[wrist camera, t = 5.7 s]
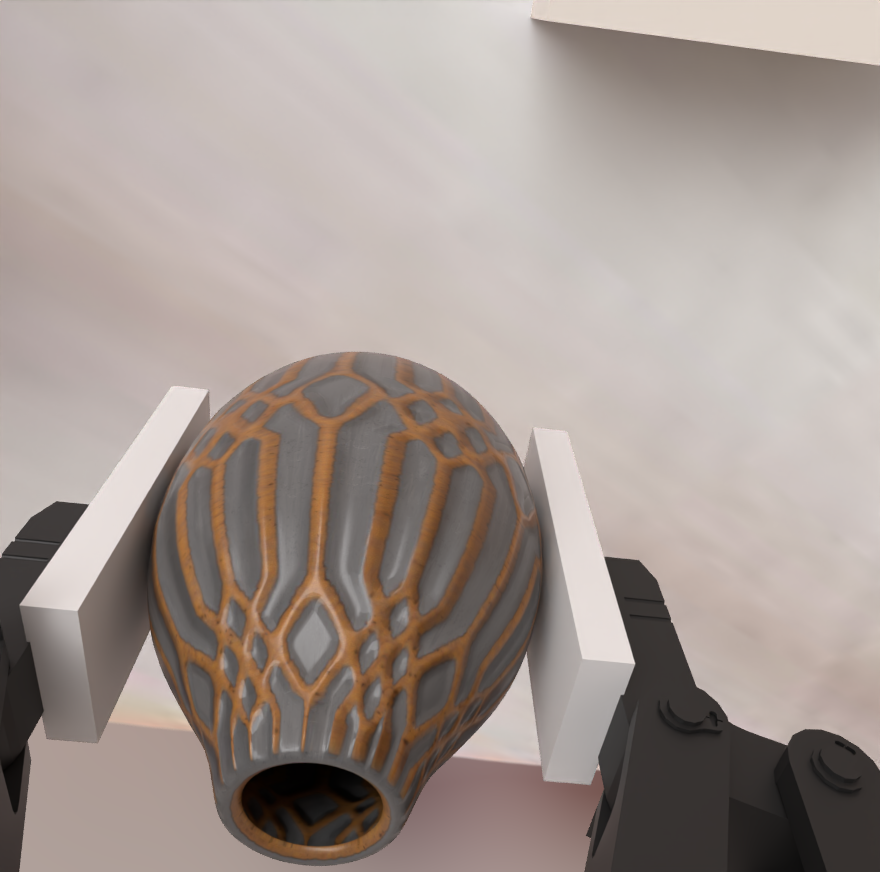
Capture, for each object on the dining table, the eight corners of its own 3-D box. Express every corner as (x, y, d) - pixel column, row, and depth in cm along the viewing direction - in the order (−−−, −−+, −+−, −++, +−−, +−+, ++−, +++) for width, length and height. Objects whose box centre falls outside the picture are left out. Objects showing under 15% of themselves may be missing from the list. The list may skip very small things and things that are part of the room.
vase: (572, 495, 18) (673, 873, 10) (329, 606, 19) (256, 998, 12) (423, 242, 14) (401, 507, 7) (150, 400, 16) (-104, 748, 9)
